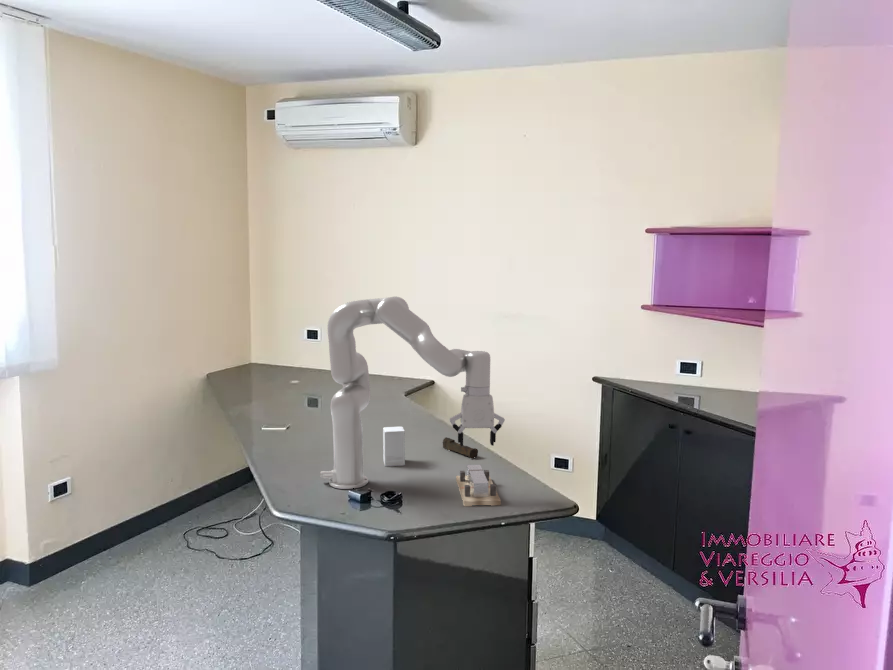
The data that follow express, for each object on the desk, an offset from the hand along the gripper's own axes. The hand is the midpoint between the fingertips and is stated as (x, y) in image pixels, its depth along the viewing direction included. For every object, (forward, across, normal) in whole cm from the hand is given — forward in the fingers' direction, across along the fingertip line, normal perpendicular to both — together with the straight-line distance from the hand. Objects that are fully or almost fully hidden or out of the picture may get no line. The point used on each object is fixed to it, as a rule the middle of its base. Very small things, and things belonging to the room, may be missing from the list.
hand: (476, 444), depth 212 cm
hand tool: (+16, -1, +43) cm, 46 cm away
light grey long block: (+14, 0, 0) cm, 14 cm away
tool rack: (+15, 0, 0) cm, 15 cm away
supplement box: (+16, -26, +33) cm, 45 cm away
